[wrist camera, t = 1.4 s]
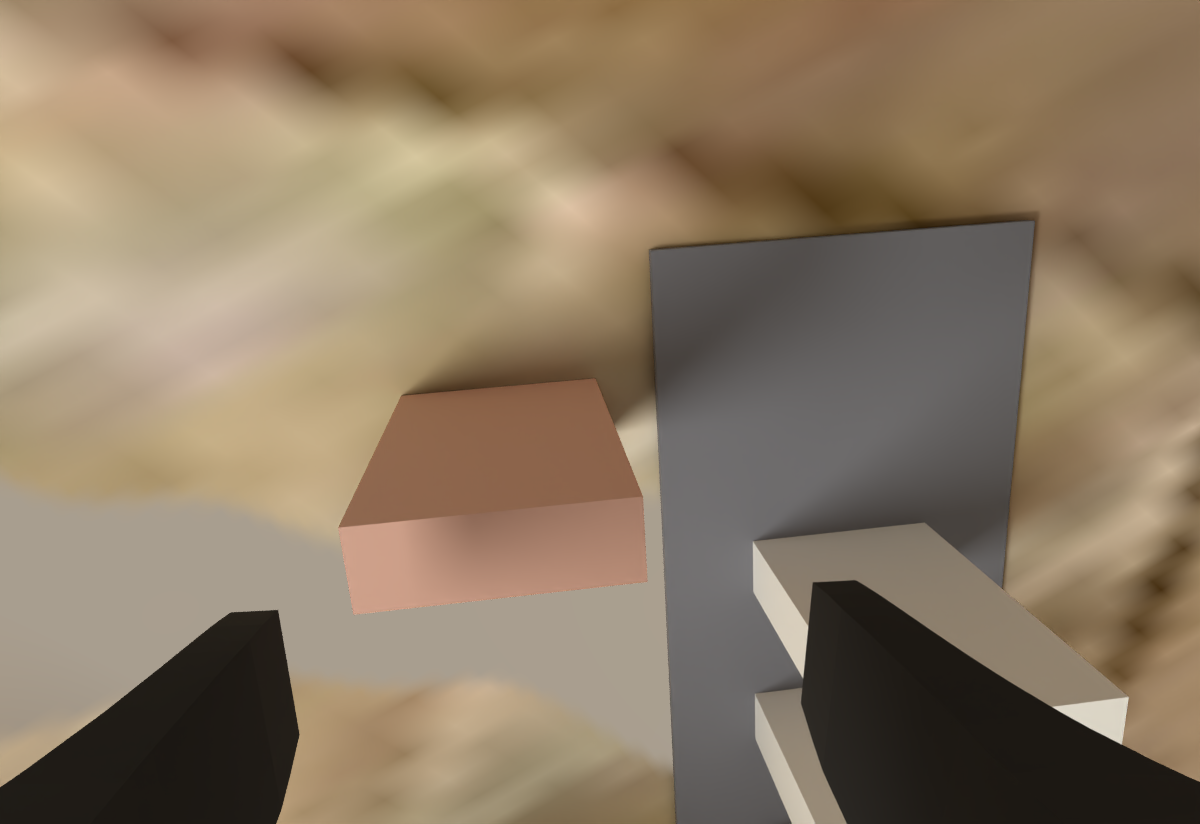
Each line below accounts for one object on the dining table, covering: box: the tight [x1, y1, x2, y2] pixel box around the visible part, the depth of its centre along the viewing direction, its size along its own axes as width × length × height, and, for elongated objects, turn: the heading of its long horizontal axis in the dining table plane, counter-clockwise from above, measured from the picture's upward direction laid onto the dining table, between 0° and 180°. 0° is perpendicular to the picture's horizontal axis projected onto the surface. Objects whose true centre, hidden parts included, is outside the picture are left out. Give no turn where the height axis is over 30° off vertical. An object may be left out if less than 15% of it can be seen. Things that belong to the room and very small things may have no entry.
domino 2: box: [755, 688, 847, 824], centre depth 21 cm, size 2×5×8 cm, turn 94°
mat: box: [649, 220, 1035, 824], centre depth 25 cm, size 28×10×1 cm, turn 4°
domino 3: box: [753, 523, 1129, 744], centre depth 19 cm, size 2×5×8 cm, turn 94°
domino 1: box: [338, 378, 647, 614], centre depth 17 cm, size 2×5×8 cm, turn 94°
